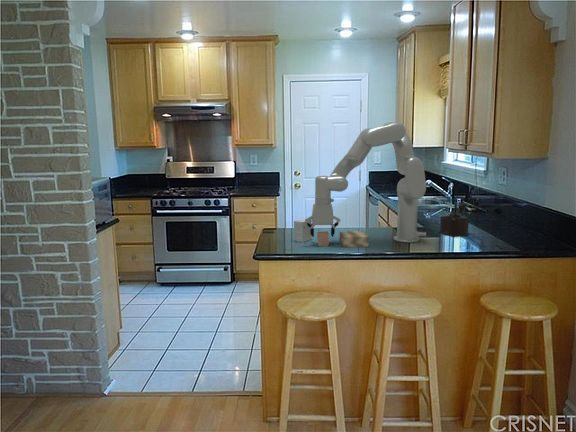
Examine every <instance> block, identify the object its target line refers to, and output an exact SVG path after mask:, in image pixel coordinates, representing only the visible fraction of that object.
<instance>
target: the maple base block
mask: <svg viewBox="0 0 576 432" xmlns="http://www.w3.org/2000/svg"><path fill="white" fill-rule="evenodd" d="M369 237H370V236H369V235H368V234H367V233H366V232H365V231H364V230H356V231H355V230H353V231H349V230H347V231H346V230H345V231H344V230H343V231H339V243H340V244H341V246H342V247H343V248H368V247H369V246H370V244H369V240H370V239H369Z"/></svg>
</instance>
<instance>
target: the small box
mask: <svg viewBox="0 0 576 432" xmlns="http://www.w3.org/2000/svg"><path fill="white" fill-rule="evenodd" d="M305 219H306V218H305V217H302V218H299V219H295V220H293V232H294V233H293V237H294V238H293V239H294V241H295V242H299V243H304V242H308V241H310V240H312V238H313V237H312V235H311V234H310V227H309V226H308V225H307V224H306V222H305ZM308 222H309V224H312V223H313V222H312V219H311V220H309V221H308Z"/></svg>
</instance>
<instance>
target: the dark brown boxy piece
mask: <svg viewBox="0 0 576 432" xmlns="http://www.w3.org/2000/svg"><path fill="white" fill-rule="evenodd" d="M453 204H454V206H453V207H454V211H453V212H451V213H449V214H447V215H442V216H440V221H439V222H440V223H439V225H440V226H439V234H441V235H445V236H449V237H453V238H456V237H465V236H468V235H469V223H470V218H469V217H466V216H462V215H461V214H464V213H465V210H466V209H467V204H465V203H462V202H461V203H459V204H457V203H453ZM457 205H458V206H457ZM457 211H458V213H457ZM459 213H460V214H459Z"/></svg>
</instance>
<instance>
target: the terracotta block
mask: <svg viewBox="0 0 576 432" xmlns="http://www.w3.org/2000/svg"><path fill="white" fill-rule="evenodd" d="M316 234H317V237H316V241H317V245H318V246H319V247H323V246H324V247H325V246H330V234H329V232H328V230H327V231H326V230H325V231H324V230H322V231H316Z"/></svg>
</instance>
